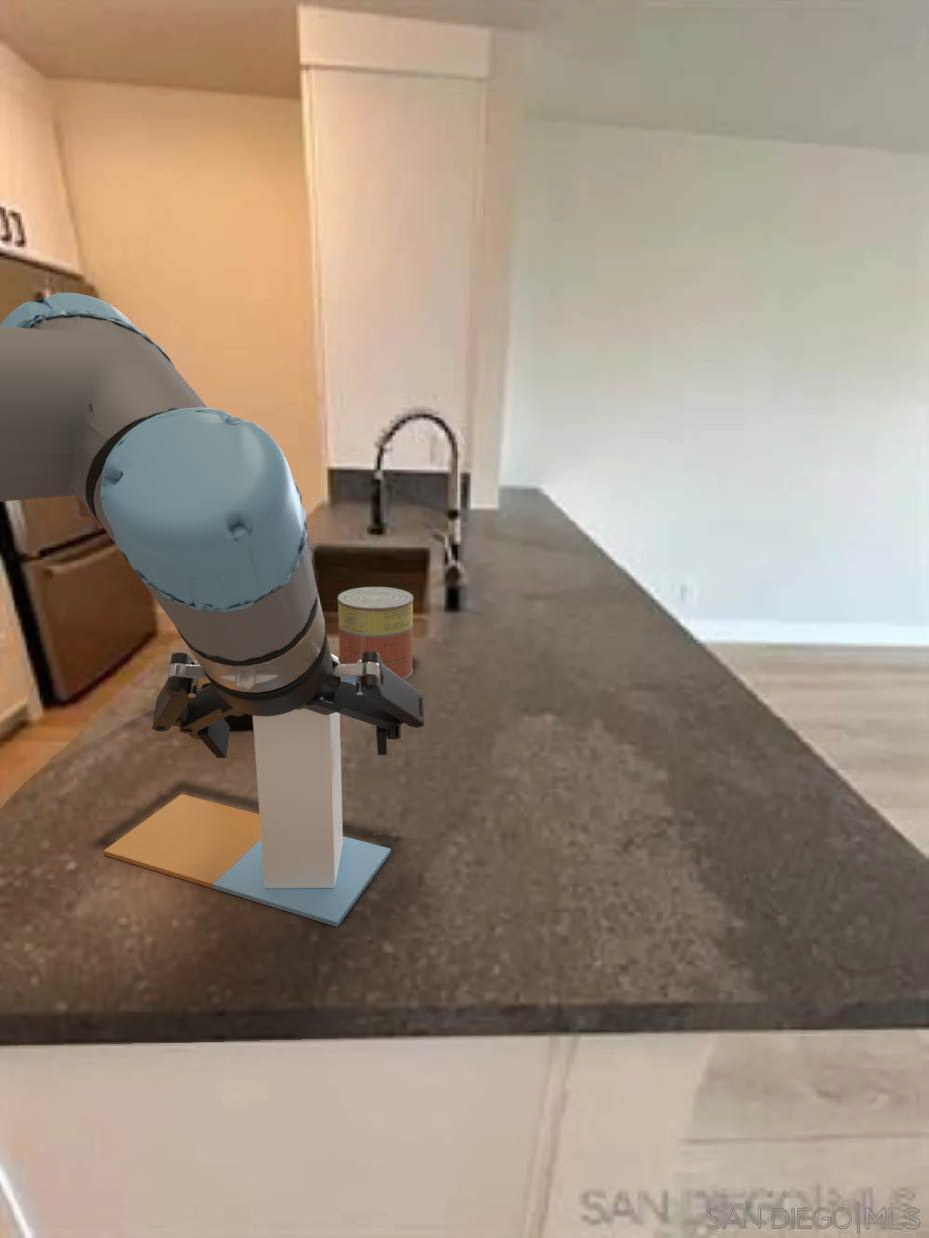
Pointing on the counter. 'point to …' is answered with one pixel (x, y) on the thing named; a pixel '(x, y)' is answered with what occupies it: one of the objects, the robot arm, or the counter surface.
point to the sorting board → (240, 858)
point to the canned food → (377, 627)
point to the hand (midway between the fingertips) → (304, 741)
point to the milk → (299, 798)
